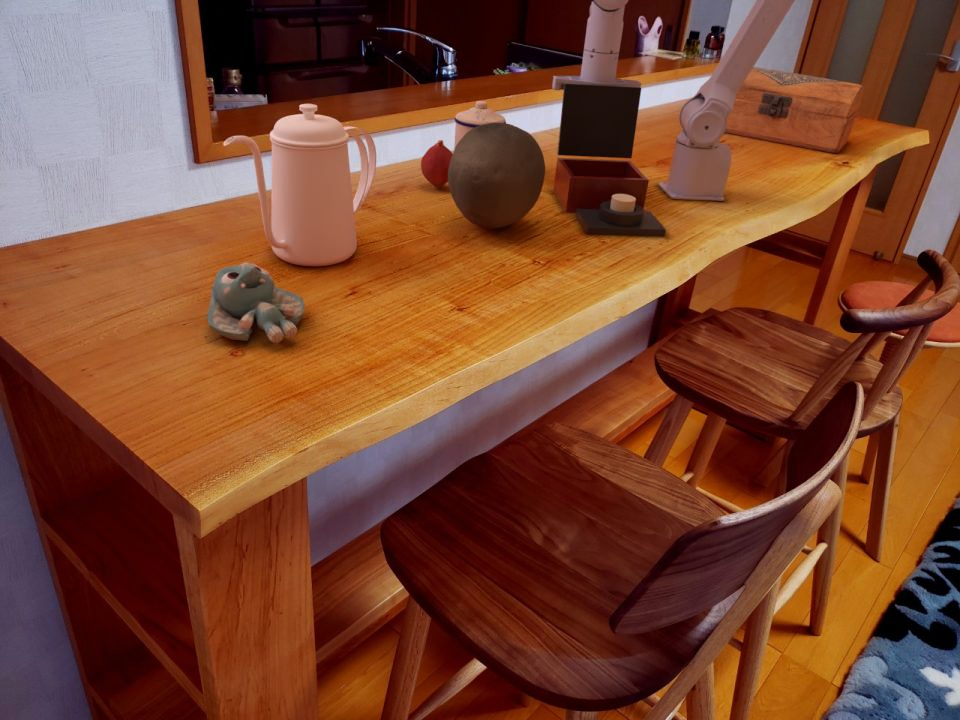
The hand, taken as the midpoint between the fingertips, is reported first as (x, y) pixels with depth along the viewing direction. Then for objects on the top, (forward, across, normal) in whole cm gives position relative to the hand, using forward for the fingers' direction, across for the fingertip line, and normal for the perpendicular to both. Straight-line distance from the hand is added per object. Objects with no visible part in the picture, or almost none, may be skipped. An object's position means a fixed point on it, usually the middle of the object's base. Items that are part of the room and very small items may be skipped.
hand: (589, 135), depth 128 cm
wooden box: (+9, -56, -42) cm, 71 cm away
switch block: (+8, -1, +21) cm, 23 cm away
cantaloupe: (+9, +19, +24) cm, 31 cm away
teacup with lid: (+9, +17, -7) cm, 20 cm away
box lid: (-3, 0, +5) cm, 6 cm away
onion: (+9, +26, +6) cm, 28 cm away
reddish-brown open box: (+8, 0, +10) cm, 13 cm away
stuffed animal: (+9, +48, +55) cm, 73 cm away
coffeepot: (+9, +44, +35) cm, 57 cm away
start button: (+6, -1, +21) cm, 22 cm away
